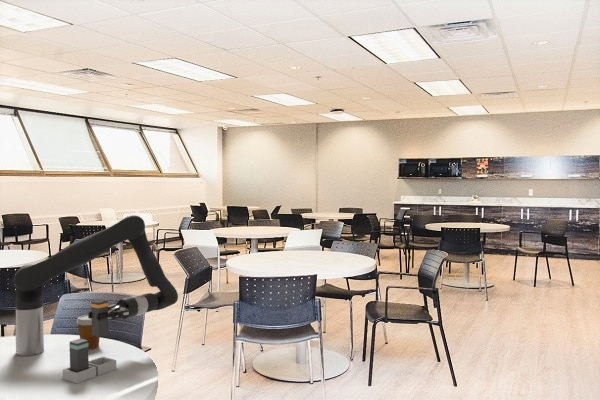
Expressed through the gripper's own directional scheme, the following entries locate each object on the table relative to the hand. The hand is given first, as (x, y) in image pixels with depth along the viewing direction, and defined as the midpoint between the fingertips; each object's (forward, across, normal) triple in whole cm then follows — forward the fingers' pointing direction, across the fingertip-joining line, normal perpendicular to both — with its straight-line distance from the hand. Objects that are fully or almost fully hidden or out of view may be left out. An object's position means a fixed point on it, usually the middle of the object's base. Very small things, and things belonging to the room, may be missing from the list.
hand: (93, 316), depth 186 cm
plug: (-3, 0, +7) cm, 8 cm away
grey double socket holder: (+7, +8, +18) cm, 21 cm away
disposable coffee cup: (-13, -20, +18) cm, 30 cm away
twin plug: (+11, +8, +16) cm, 21 cm away
